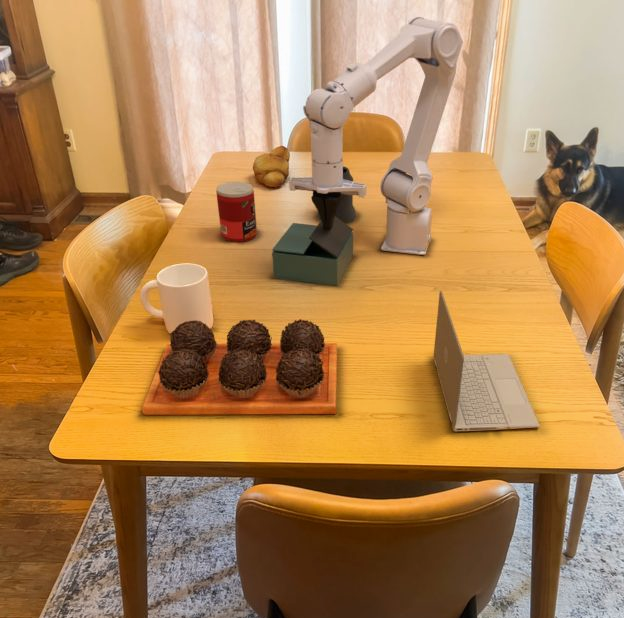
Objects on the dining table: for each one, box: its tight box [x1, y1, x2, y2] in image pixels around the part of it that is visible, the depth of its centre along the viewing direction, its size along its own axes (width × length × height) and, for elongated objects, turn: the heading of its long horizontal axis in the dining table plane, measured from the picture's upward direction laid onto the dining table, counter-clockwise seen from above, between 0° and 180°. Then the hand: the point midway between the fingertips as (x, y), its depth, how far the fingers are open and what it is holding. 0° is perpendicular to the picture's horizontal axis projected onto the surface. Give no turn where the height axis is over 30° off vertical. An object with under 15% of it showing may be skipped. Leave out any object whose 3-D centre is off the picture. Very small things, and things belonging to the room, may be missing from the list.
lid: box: [309, 216, 354, 258], centre depth 131 cm, size 6×13×1 cm
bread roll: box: [252, 145, 291, 188], centre depth 174 cm, size 13×10×8 cm
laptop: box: [433, 290, 541, 432], centre depth 99 cm, size 18×12×13 cm
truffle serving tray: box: [141, 318, 338, 416], centre depth 102 cm, size 28×17×8 cm, turn 91°
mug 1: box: [139, 262, 214, 334], centre depth 115 cm, size 12×8×10 cm
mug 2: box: [317, 165, 357, 224], centre depth 156 cm, size 12×9×11 cm
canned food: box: [215, 181, 258, 243], centre depth 146 cm, size 8×8×11 cm
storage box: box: [271, 222, 354, 287], centre depth 135 cm, size 13×13×6 cm
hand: (328, 228), depth 131 cm, fingers closed
